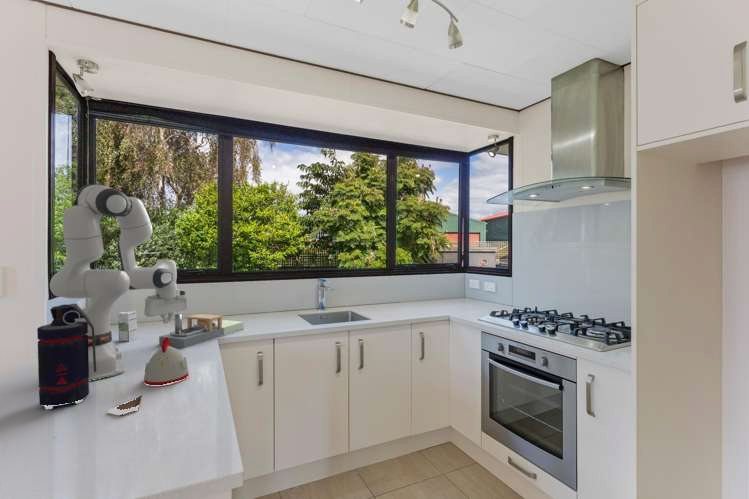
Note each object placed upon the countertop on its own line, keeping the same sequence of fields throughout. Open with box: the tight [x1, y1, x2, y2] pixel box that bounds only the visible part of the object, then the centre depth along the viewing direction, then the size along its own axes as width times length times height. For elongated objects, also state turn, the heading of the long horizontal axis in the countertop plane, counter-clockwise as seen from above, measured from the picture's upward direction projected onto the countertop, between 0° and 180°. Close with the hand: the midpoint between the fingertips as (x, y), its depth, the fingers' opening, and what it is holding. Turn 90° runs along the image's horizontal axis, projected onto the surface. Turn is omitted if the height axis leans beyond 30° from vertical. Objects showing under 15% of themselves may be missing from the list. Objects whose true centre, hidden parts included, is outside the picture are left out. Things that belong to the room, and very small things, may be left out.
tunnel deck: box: [158, 313, 245, 349], centre depth 193 cm, size 40×16×10 cm, turn 158°
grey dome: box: [143, 337, 189, 385], centre depth 133 cm, size 14×14×15 cm
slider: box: [169, 313, 218, 336], centre depth 188 cm, size 22×10×10 cm, turn 158°
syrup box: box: [117, 310, 138, 342], centre depth 186 cm, size 6×6×14 cm
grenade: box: [36, 303, 96, 406], centre depth 114 cm, size 14×12×30 cm
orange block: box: [196, 320, 208, 328], centre depth 193 cm, size 5×5×4 cm
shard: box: [117, 394, 143, 410], centre depth 110 cm, size 11×8×2 cm
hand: (167, 322), depth 173 cm, fingers closed
